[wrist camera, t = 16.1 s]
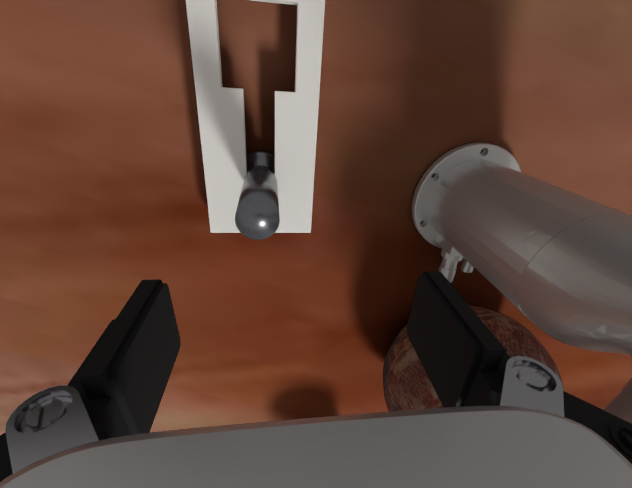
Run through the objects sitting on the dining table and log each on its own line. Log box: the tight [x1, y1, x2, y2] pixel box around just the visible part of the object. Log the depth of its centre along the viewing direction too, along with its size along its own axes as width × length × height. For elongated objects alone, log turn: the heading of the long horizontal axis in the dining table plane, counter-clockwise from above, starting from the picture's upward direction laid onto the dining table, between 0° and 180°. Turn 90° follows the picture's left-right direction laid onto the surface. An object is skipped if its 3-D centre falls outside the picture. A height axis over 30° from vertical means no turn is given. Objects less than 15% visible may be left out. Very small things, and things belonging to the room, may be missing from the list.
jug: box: [383, 305, 564, 412], centre depth 36 cm, size 22×21×25 cm
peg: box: [235, 150, 280, 240], centre depth 26 cm, size 4×4×12 cm
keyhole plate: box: [186, 0, 325, 233], centre depth 28 cm, size 20×10×3 cm, turn 176°
